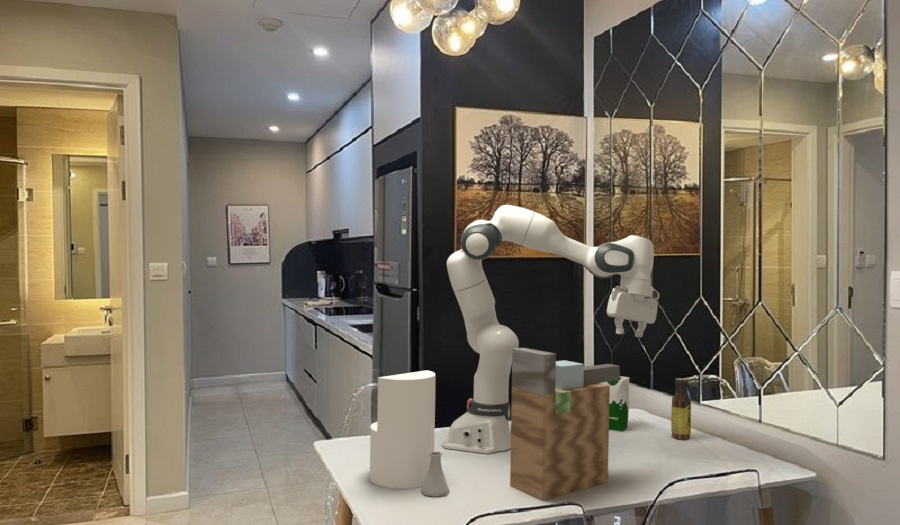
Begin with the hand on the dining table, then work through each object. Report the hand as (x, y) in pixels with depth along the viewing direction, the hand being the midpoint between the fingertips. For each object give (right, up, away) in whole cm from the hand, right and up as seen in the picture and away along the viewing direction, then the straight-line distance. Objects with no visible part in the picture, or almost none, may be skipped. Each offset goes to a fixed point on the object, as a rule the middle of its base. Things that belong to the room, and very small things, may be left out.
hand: (629, 335), depth 193 cm
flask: (-57, -37, -29) cm, 74 cm away
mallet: (-17, -11, -17) cm, 26 cm away
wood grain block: (-24, -37, -22) cm, 49 cm away
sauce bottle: (+25, -38, +25) cm, 52 cm away
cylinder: (-67, -36, -18) cm, 78 cm away
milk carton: (+5, -37, +37) cm, 53 cm away
